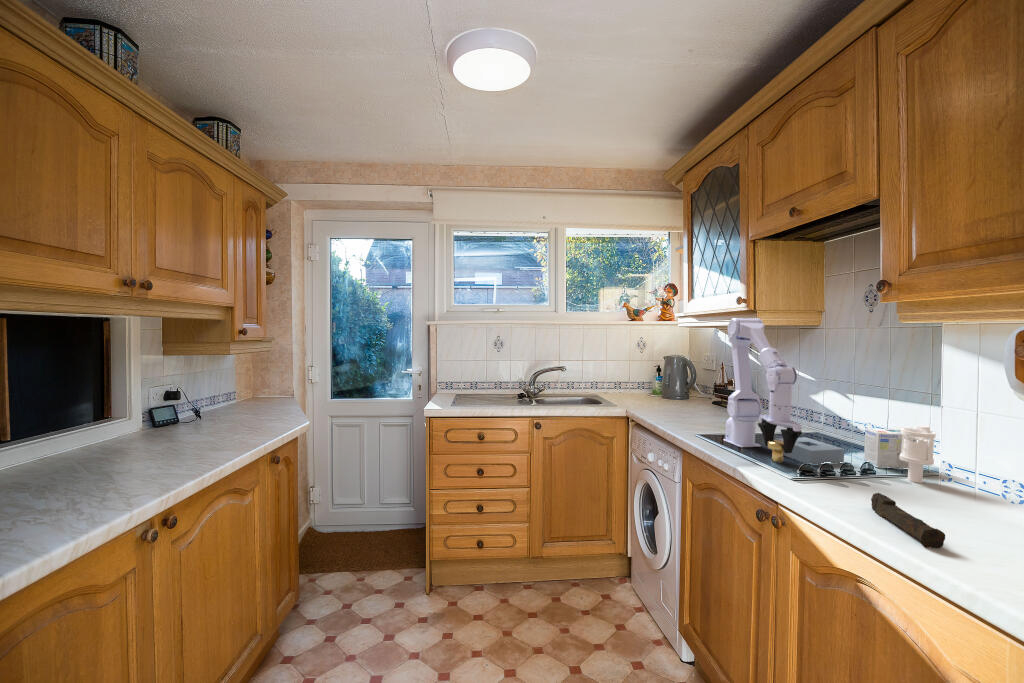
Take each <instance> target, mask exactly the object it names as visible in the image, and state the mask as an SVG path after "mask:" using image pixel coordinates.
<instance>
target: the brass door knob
mask: <svg viewBox="0 0 1024 683" xmlns="http://www.w3.org/2000/svg"><path fill="white" fill-rule="evenodd" d="M767 449H769V450H771V451H772V452H771V461H772V460H773V461H776V462H783V463H784V455H783V454H784V442H783V441H780V440H775V439H774V440H768V446H767ZM773 461H772V462H773ZM776 462H775V463H776Z"/></svg>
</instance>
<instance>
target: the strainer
mask: <svg viewBox="0 0 1024 683" xmlns="http://www.w3.org/2000/svg"><path fill="white" fill-rule="evenodd" d="M930 429H931V427H930V426H928V425H927V426H926V425H918V426H917V427H916V428H913V427H902V428H900V430H901V433H902V446H901V454H900V456H899V459H901V460H903V461H906V462H909V466H908V470H907V471H908V472H907V481H909V482H911V483H916V484H922V483H923V482H924V481H923V479H924V478H923V477H924V466H933V465H935V464H934V463H935V459H934V446H935V445H934V443H935V438H936V434H937V433H936V432H935V431H931V430H930ZM907 435H908V436H907ZM913 439H914V440H917V442H913Z"/></svg>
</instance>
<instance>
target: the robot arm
mask: <svg viewBox="0 0 1024 683" xmlns="http://www.w3.org/2000/svg"><path fill="white" fill-rule="evenodd" d="M764 332H765V324H764V322H763V320H762V319H761V318H759V317H756V318H737V317H733V318H731V319H730V321H729V322H728V325H727V335H728V336H727V338H728V342H729V343H730V344H731V353H732V365H733V366H732V367H733V373H734V376H733V378H734V389H735V391H733V392H732V393H731V394H730V395H729V396H728V397H727V406H726V410H727V413H728V415H729V418H727V420H726V422H725V436H724V437H725V438H723V440H722V441H724V442H726V443H729V444H732V445H734V446H736V447H740V448H755V447H757V448H758V447H759V448H760V447H761V444H759V443H755V442H756V427H757V426H758V427H759V429H760V432H761V433H762V438H763V442H764V446H766V447H768V440H775V439H774V438H775V432H776V429H777V426H779V427H781V428H783V429H780V432H781V435H782V438H783V442H784V453H792V450H793V447H794V445H795V442H796V441H797V439H798V438H800V436H801V435H802V433H803V432H802V424H801V423H797V422H795V421H793V420H792V419H791V413H792V410H791V409H792V393H793V392H792V391H793V390H792V389H793V386H794V385H795V384H796V383H797V379H798V373H797V370H796V369H795V367H794V366H793V365H790V364H789V363H786V362H785V360H784V358H783V357H782V356H781V354H780V352H779V351H778V349H776V348H775V347H772V346H771V344H770V343H769V341H768V339H767V336H766V334H765V333H764ZM750 344H753V345H754V347H755V348H756V349H757V351H758V352H759V355H758V359H759V361H760V363H761V364H762V366H763V367H764V369H765V370H766V376H765V377H766V380H767V388H768V390H769V405H768V407H769V408H768V414H763V406H762V404H761V400H760V396H759V395H758V394H757V393H755V392H754V391H753V389H752V388H753V387H752V377H751V367H750V356H749V354H750V353H749V346H750ZM758 420H759V422H758V423H757V424H756V421H758ZM756 425H757V426H756Z"/></svg>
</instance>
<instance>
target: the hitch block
mask: <svg viewBox="0 0 1024 683" xmlns="http://www.w3.org/2000/svg"><path fill="white" fill-rule="evenodd" d="M774 440H780V441H783V437H782V438H780V437H779V438H775V439H774ZM783 457H786V458H789V459H792V460H794V459H795V460H794V461H797V462H800V463H802V462H803V463H802V464H805V463H812V464H821V463H824V462H831V463H834V464H833V465H836V464H835V463H840V462H844V461H845V449H844V448H842V447H839V446H835V445H833V444H830V443H825V442H823V441H820V440H816V439H813V438H810V437H798V439H797V441H796V442H795V445H794V447H793V450H792V453H784V454H783ZM844 463H845V462H844Z"/></svg>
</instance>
